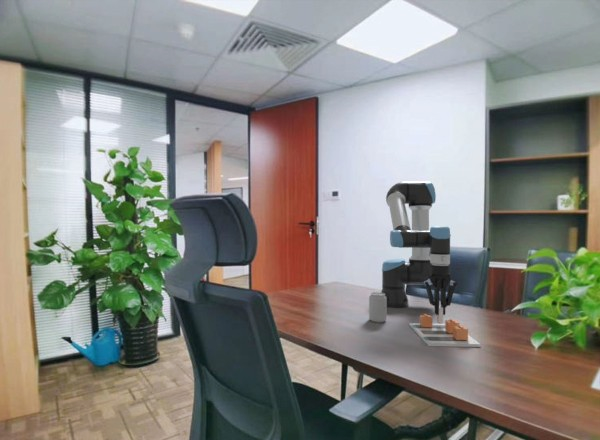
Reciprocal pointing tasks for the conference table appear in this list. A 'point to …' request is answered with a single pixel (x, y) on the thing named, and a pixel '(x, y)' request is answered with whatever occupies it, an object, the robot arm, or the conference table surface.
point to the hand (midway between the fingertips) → (439, 322)
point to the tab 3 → (460, 332)
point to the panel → (441, 336)
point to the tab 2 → (450, 325)
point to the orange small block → (425, 320)
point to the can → (377, 307)
